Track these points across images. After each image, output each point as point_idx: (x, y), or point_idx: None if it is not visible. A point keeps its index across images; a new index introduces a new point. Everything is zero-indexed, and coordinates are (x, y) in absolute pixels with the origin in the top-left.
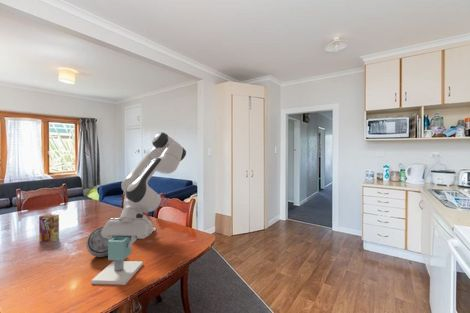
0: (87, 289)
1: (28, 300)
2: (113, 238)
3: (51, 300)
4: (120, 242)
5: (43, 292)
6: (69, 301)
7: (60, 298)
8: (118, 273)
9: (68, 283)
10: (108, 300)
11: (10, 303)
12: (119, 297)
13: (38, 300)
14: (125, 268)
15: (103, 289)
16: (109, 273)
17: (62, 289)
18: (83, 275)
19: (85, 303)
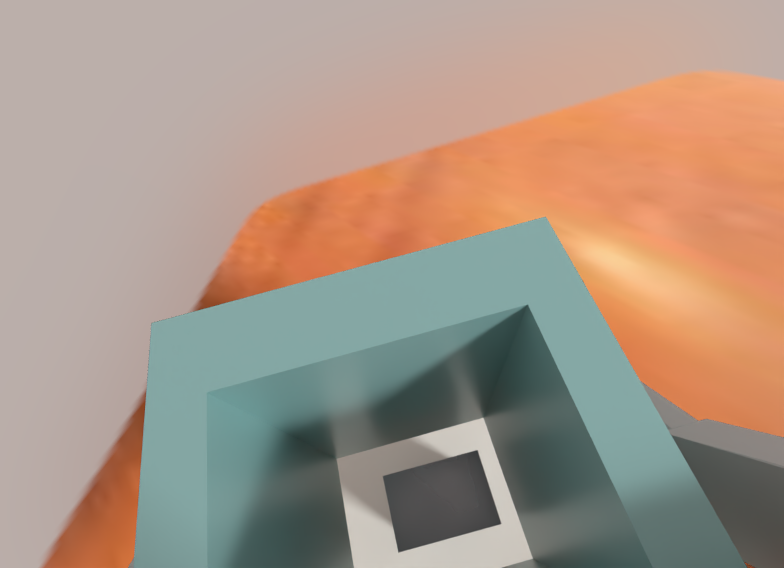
0: None
1: (680, 117)
2: (626, 435)
3: (568, 151)
4: (229, 313)
5: (702, 168)
6: (470, 174)
7: (542, 172)
8: (399, 446)
9: (683, 265)
10: (281, 239)
11: (729, 84)
12: (237, 272)
13: (631, 132)
14: (402, 555)
15: None
16: (478, 419)
17: (633, 216)
18: (717, 374)
19: (378, 191)
